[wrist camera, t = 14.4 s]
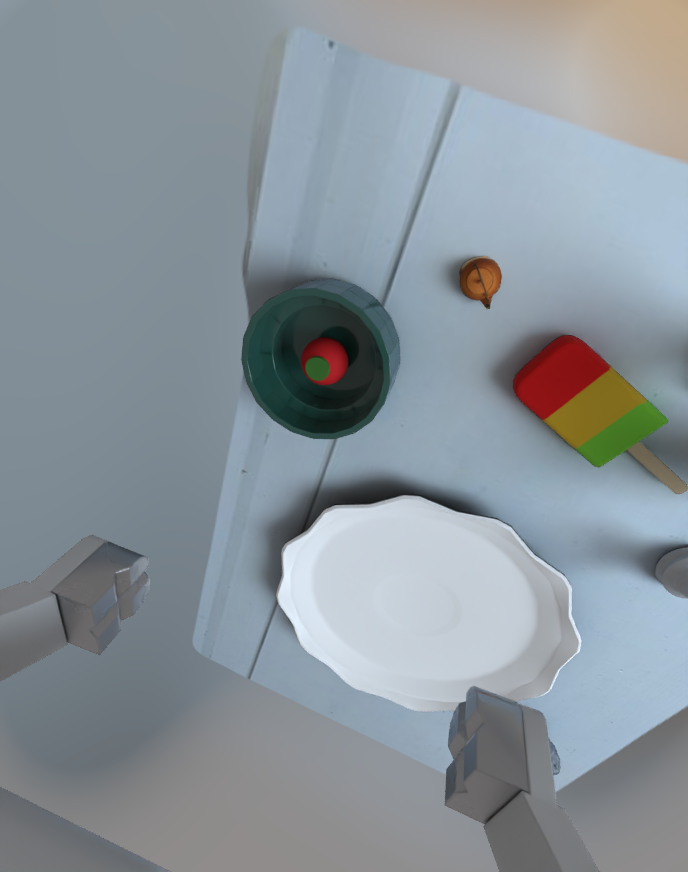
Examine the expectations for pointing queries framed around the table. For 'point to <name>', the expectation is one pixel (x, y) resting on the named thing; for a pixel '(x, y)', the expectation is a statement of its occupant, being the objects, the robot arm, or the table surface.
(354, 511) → the plate
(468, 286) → the teapot
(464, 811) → the robot arm
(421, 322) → the table surface
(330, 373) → the strawberry
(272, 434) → the table surface
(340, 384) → the bowl
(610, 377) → the popsicle
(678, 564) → the chess piece
